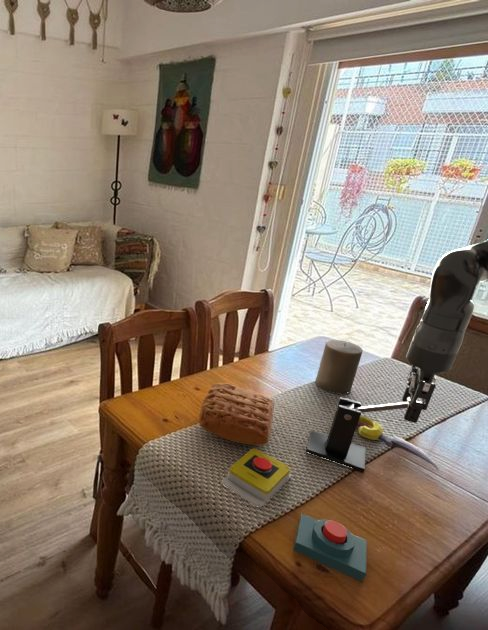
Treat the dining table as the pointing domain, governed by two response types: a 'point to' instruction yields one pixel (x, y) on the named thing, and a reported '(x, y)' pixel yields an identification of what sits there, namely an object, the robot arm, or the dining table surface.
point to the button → (334, 532)
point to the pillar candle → (338, 366)
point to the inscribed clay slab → (237, 414)
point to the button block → (331, 548)
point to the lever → (380, 406)
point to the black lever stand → (340, 438)
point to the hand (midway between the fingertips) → (408, 411)
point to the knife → (389, 438)
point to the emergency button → (257, 477)
